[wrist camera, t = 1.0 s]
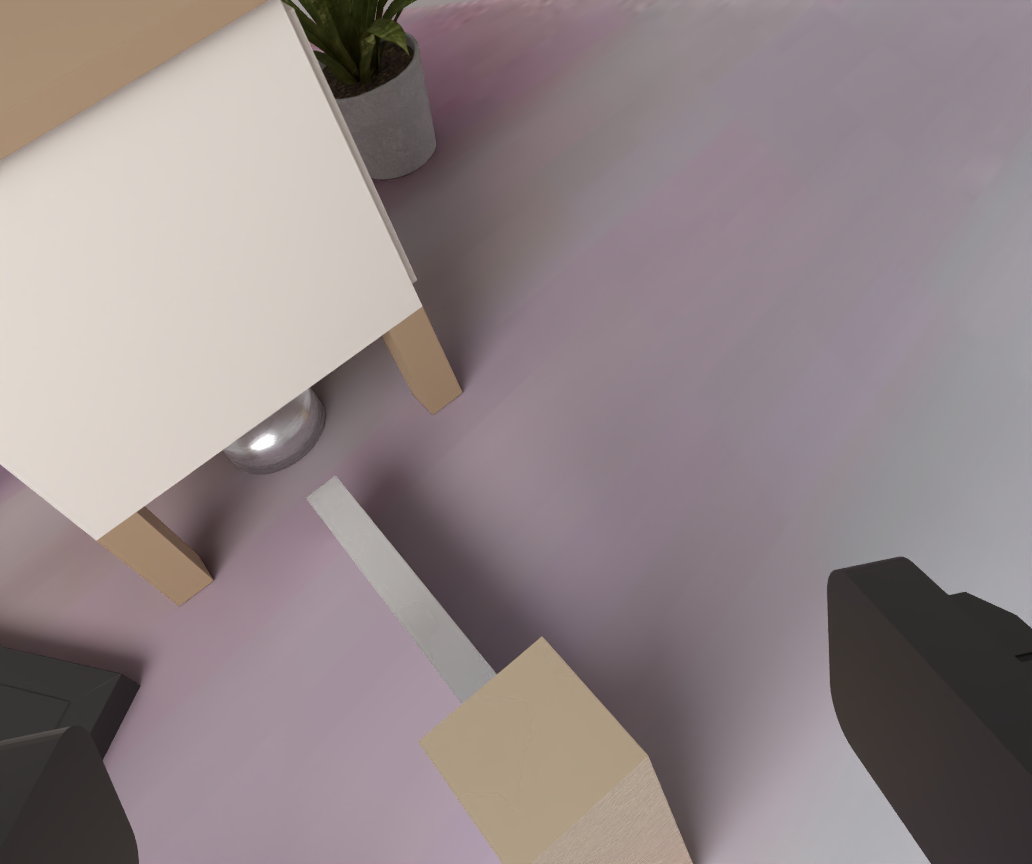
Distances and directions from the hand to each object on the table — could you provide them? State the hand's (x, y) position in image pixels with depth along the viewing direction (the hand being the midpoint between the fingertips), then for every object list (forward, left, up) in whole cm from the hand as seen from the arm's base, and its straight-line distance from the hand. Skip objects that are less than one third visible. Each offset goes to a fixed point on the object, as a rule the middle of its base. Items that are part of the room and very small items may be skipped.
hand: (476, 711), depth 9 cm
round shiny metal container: (0, -29, -22) cm, 36 cm away
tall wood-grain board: (0, -11, -22) cm, 25 cm away
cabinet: (0, -28, -22) cm, 36 cm away
